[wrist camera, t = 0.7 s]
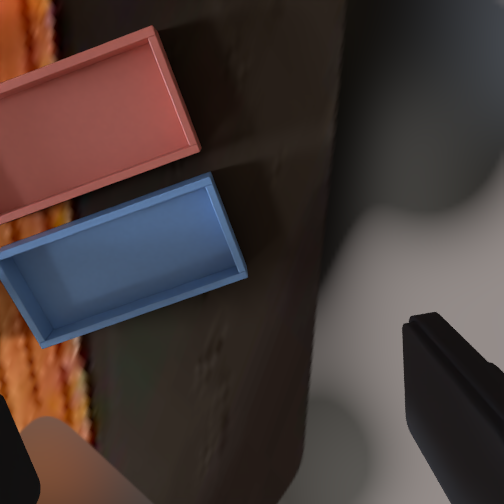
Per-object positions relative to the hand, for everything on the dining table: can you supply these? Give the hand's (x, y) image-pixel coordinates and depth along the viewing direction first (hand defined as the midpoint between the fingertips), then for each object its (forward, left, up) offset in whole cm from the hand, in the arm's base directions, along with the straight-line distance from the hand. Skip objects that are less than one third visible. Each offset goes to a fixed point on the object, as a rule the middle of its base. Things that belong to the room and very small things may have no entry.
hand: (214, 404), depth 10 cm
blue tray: (+3, -9, -26) cm, 28 cm away
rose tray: (-8, -9, -26) cm, 29 cm away
